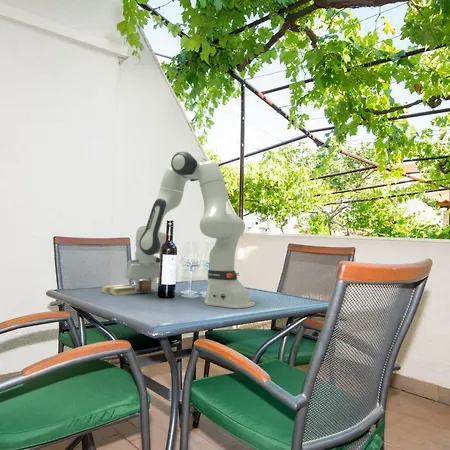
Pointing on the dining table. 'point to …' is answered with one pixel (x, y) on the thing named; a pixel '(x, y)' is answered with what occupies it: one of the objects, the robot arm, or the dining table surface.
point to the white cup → (153, 283)
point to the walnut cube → (144, 286)
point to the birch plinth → (118, 289)
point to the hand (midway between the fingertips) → (143, 288)
